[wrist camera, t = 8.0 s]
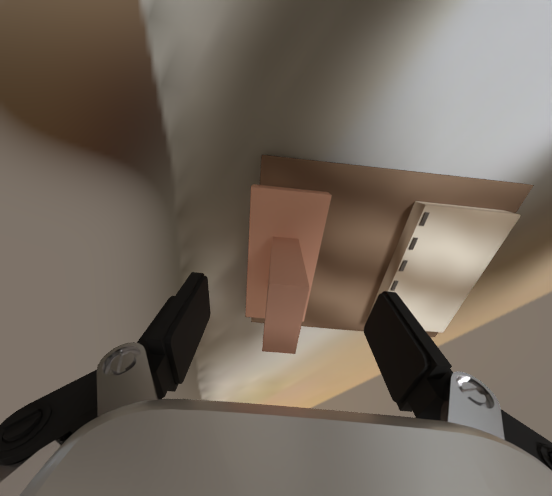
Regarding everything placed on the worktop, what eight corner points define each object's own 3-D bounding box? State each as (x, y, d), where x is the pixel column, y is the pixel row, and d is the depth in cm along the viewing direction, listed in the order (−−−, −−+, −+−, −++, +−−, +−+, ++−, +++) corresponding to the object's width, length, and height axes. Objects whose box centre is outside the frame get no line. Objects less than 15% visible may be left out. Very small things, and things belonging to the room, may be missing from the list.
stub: (253, 184, 15) (232, 210, 8) (327, 192, 15) (366, 223, 8) (247, 307, 20) (232, 383, 13) (302, 312, 20) (313, 389, 14)
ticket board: (263, 154, 15) (259, 155, 13) (511, 182, 16) (556, 188, 13) (253, 311, 22) (249, 332, 20) (425, 326, 23) (443, 347, 20)
